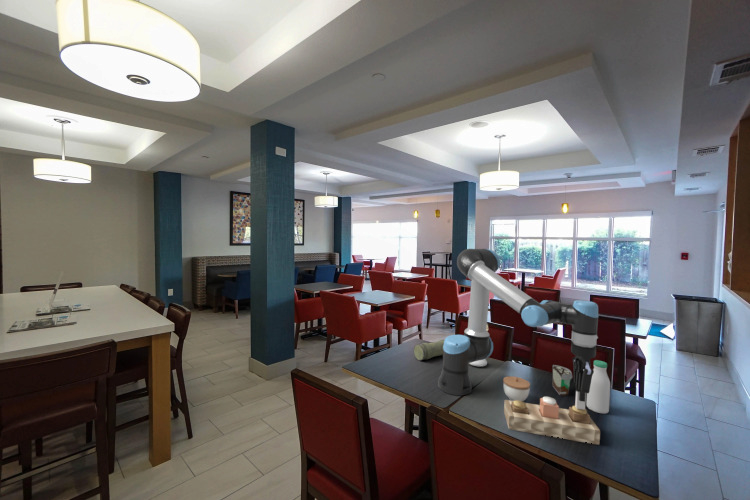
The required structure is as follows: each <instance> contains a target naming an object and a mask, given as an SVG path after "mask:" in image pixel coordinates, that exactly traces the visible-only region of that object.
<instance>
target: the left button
mask: <svg viewBox="0 0 750 500" xmlns="http://www.w3.org/2000/svg"><path fill="white" fill-rule="evenodd" d="M526 403H527V402H525V401H519V400H515V401H514V402H512V404H511V408H512V411H513V412H515V413H522V414H528V408H527V406H526Z"/></svg>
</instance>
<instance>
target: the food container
mask: <svg viewBox="0 0 750 500" xmlns="http://www.w3.org/2000/svg"><path fill="white" fill-rule="evenodd" d="M572 379H573V373H572V371H571V370H570V369H569V368H567V367H564V366H561V365H557V364H552V387H553V389H554V390H555V391H556V392H557V394H558V395H559V396H562V397H563V396H567V395H569V393H570V392H569V391H570V386H571V385H570V384H571V380H572Z"/></svg>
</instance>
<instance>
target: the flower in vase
mask: <svg viewBox="0 0 750 500" xmlns="http://www.w3.org/2000/svg"><path fill="white" fill-rule="evenodd" d="M486 330H487V332H488V331H489V324H487V328H486ZM487 364H488V360H487V358H485V359H483V360H478V361H475V362H472V363H469V365H471V366H474V367H485V366H487Z"/></svg>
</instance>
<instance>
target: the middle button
mask: <svg viewBox="0 0 750 500" xmlns="http://www.w3.org/2000/svg"><path fill="white" fill-rule="evenodd" d="M539 405H540V413H541V415H542V417H546V418H552V419H558V413H559V408H560V406H559V405H558V403H557V400H556V398H553V397H551V396H543V397H540V398H539Z"/></svg>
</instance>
